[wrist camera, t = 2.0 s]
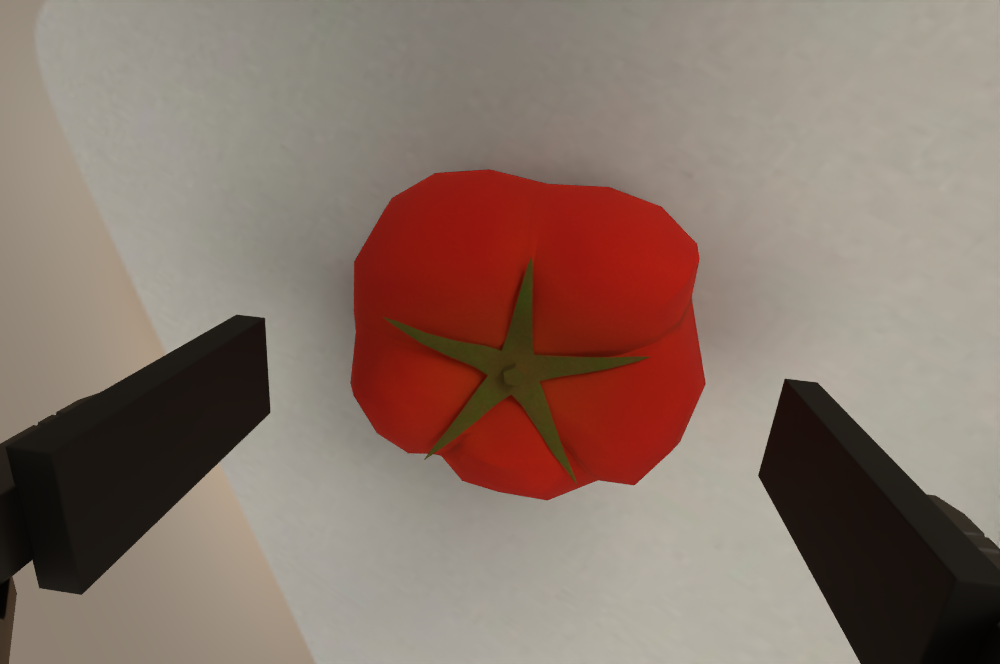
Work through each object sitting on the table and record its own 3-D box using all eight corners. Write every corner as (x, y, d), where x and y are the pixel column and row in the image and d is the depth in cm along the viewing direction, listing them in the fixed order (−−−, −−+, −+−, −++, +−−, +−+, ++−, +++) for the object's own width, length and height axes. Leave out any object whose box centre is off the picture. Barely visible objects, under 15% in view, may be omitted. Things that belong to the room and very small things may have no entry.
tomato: (392, 146, 20) (312, 158, 14) (718, 193, 19) (788, 227, 13) (377, 401, 23) (308, 501, 17) (652, 448, 22) (683, 570, 16)
